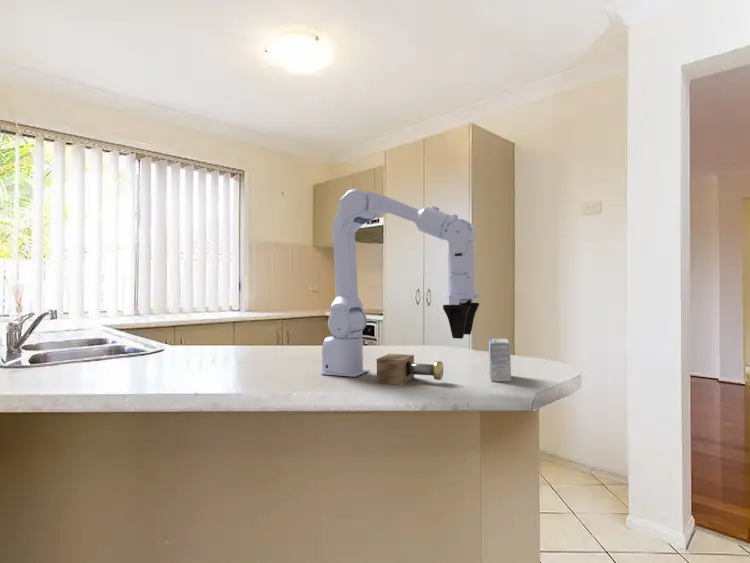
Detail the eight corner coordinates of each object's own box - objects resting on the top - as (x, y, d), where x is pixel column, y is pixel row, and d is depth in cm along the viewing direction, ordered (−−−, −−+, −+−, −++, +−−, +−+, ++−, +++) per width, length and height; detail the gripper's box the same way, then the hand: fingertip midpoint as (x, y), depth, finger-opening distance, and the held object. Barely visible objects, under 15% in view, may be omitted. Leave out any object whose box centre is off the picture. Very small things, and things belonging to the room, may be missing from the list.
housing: (376, 382, 104) (376, 359, 104) (389, 375, 112) (389, 353, 112) (402, 384, 102) (402, 360, 102) (414, 377, 109) (413, 355, 109)
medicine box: (511, 382, 103) (510, 343, 103) (490, 381, 104) (489, 342, 104) (508, 375, 111) (508, 338, 111) (488, 374, 112) (488, 338, 112)
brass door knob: (398, 378, 104) (398, 360, 104) (404, 375, 108) (404, 357, 108) (438, 381, 101) (438, 363, 101) (443, 378, 105) (443, 360, 105)
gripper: (472, 273, 96) (473, 341, 96) (485, 274, 109) (486, 333, 109) (439, 274, 98) (439, 339, 98) (455, 274, 112) (456, 332, 112)
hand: (462, 336), depth 104 cm, fingers open, 7 cm apart
